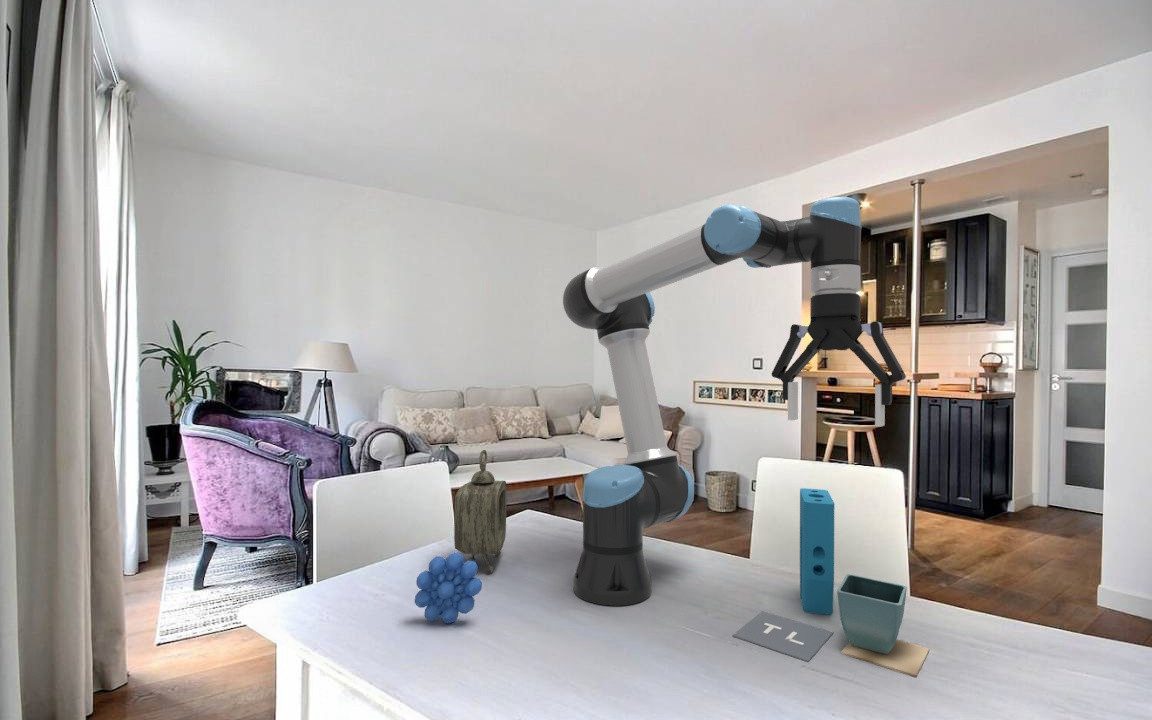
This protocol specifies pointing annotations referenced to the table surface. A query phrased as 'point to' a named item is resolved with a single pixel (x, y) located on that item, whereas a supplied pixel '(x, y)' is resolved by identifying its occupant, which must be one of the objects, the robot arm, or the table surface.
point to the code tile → (784, 635)
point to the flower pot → (871, 612)
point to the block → (816, 551)
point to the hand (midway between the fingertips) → (834, 422)
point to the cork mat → (893, 657)
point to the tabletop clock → (480, 515)
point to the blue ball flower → (448, 588)
